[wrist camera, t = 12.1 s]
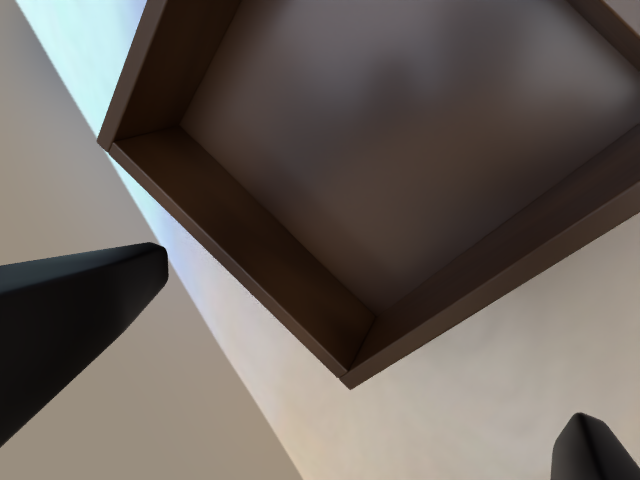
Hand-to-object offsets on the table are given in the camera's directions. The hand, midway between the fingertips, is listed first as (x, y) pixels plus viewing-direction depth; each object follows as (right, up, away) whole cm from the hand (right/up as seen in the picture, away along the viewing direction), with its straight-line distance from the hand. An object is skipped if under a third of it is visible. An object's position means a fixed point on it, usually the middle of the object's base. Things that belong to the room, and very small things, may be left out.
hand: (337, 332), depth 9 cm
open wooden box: (+2, +8, +10) cm, 13 cm away
